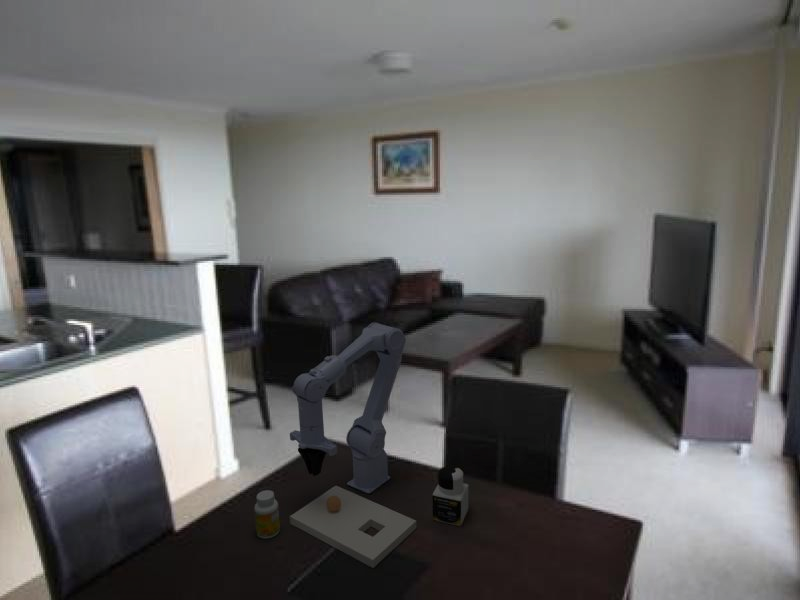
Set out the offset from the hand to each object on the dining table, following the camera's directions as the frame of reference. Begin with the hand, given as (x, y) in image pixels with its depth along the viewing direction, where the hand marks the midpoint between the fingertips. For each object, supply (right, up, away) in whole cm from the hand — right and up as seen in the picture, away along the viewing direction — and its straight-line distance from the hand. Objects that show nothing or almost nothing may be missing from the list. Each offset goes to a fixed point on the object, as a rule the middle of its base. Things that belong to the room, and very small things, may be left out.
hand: (314, 473), depth 128 cm
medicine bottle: (+34, -10, -2) cm, 35 cm away
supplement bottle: (-10, -12, -6) cm, 17 cm away
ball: (+5, -7, -2) cm, 9 cm away
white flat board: (+10, -11, -5) cm, 16 cm away
